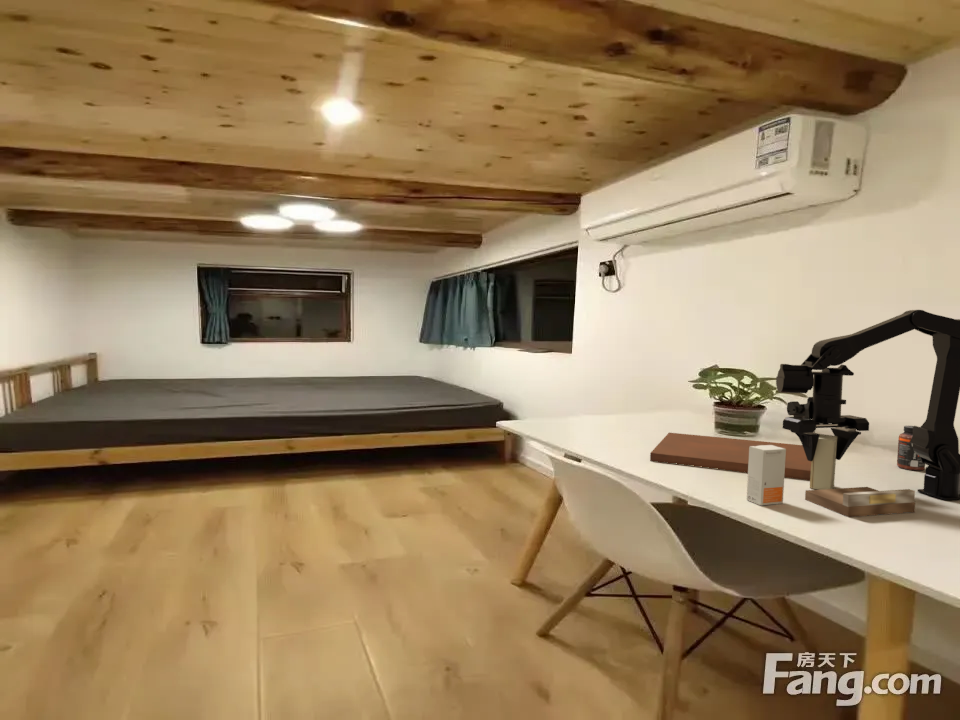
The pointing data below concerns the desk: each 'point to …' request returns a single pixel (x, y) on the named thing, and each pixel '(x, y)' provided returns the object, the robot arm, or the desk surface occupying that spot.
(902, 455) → the supplement bottle
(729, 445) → the brown wooden cutting board
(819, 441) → the skincare box
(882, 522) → the desk surface
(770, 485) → the skincare box
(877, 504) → the brown flat block
